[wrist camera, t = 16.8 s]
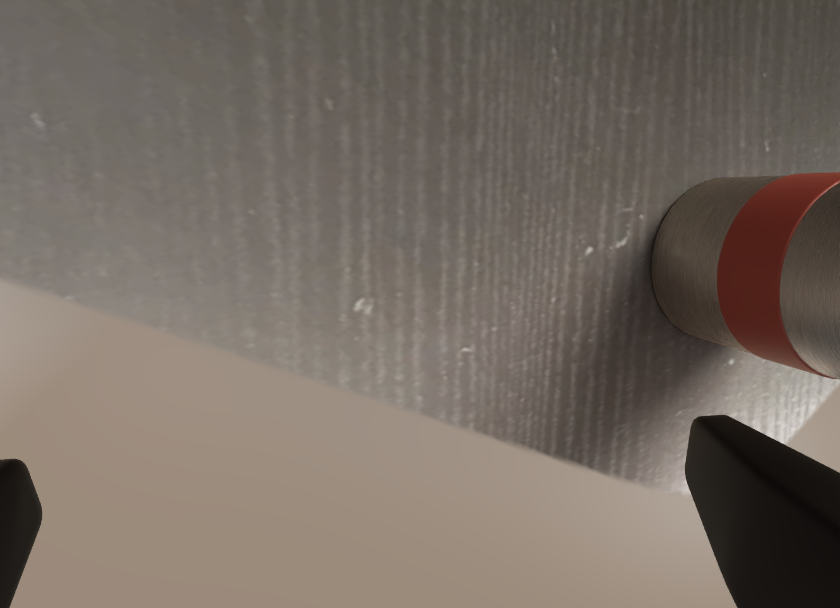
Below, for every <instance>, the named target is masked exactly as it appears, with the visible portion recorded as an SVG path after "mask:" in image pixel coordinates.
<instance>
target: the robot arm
mask: <svg viewBox="0 0 840 608" xmlns="http://www.w3.org/2000/svg"><path fill="white" fill-rule="evenodd" d="M685 475H686V480H687V484H688V487H689V489H690V492H691V494H692V497H693V500H694V502H695V505H696V507H697V510H698V513H699V515H700V518H701V521H702V523H703V526H704V529H705V531H706V533H707V536H708V539H709V542H710V544H711V547H712V550H713V552H714V555H715V557H716V560H717V562H718V565H719V568H720V570H721V573H722V575H723V578H724V580H725V582H726V585H727V587H728V589H729V591H730V593H731V595H732V597H733V599H734V602H735V604H736V605H737V607H738V608H840V473H839V472H837V471H835V470H833V469H831V468H829V467H827V466H825V465H823V464H821V463H819V462H817V461H815V460H813V459H812V458H810V457H807V456H805V455H804V454H802V453H800V452H798V451H796V450H794V449H792V448H790V447H788V446H786V445H784V444H782V443H780V442H778V441H776V440H774V439H772V438H770V437H768V436H766V435H764V434H762V433H761V432H759V431H757V430H755V429H753V428H751V427H749V426H747V425H745V424H743V423H741V422H739V421H737V420H735V419H733V418H731V417H729V416H726V415H714V416H699V417H697V418H696V419H694V421H693V423H692V425H691V430H690V436H689V443H688V449H687V456H686V462H685ZM41 520H42V507H41V503H40V501H39V498H38V495H37V493H36V490H35V487H34V485H33V482H32V479H31V477H30V474H29V471H28V469H27V467H26V465H25V464H24V463H23V462H22V461H21V460H18V459H4V460H0V608H9V607H10V605H11V602H12V599H13V597H14V594H15V591H16V589H17V586H18V583H19V581H20V578H21V576H22V573H23V570H24V568H25V565H26V562H27V559H28V556H29V554H30V552H31V549H32V546H33V544H34V541H35V538H36V536H37V533H38V531H39V528H40V525H41Z"/></svg>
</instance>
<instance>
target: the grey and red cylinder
mask: <svg viewBox="0 0 840 608" xmlns="http://www.w3.org/2000/svg"><path fill="white" fill-rule="evenodd" d="M651 276H652V283H653V289H654V292H655V296H656V298H657V301H658V303H659V305H660V307H661V309H662V311H663V312H664V314H665V315H666V316H667V318H668V319H669V320H670V321H671V322H672V323H673V324H674V325H675V326H676V327H677V328H679V329H680V330H682V331H683V332H685V333H687V334H689V335H691V336H694V337H697V338H701V339H704V340H708V341H711V342H714V343H718V344H721V345H725V346H728V347H731V348H735V349H738V350H742V351H745V352H748V353H752V354H754V355H756V356H758V357H761V358H763V359H767V360H770V361H773V362H777V363H780V364H783V365H787V366H790V367H793V368H797V369H800V370H803V371H807V372H810V373H814V374H817V375H820V376H824V377H828V378H832V379H840V172H839V173H808V174H795V175H789V176H762V177H728V178H717V179H712V180H709V181H705V182H703V183H701V184H699V185H697V186H695V187H694V188H692V189H690V190H689V191H687V192H686V193H685V194H684V195H683V196H682V197H680V198H679V199H678V201H677V202H676V203H675V204H674V205H673V206H672V208H671V209H670V210H669V212H668V213H667V215H666V216H665V218H664V220H663V222H662V224H661V226H660V228H659V231H658V233H657V236H656V239H655V242H654V246H653V252H652V260H651Z"/></svg>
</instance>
